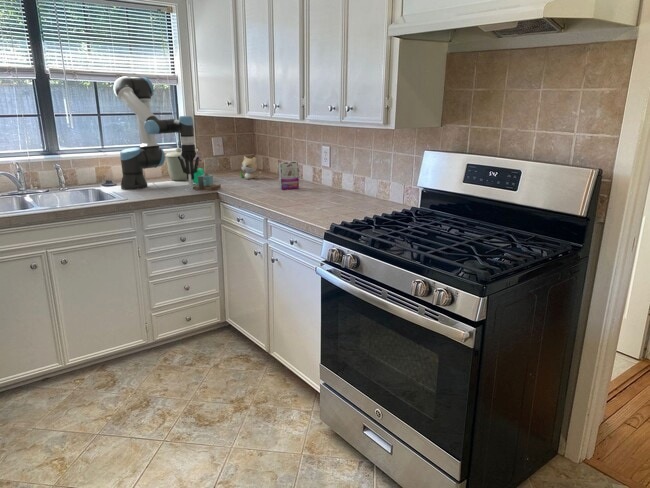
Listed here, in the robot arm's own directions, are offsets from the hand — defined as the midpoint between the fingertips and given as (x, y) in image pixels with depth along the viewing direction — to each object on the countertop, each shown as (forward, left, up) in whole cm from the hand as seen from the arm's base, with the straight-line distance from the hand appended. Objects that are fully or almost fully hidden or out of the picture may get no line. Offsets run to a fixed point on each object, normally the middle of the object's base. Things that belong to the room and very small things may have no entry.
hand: (191, 185), depth 282 cm
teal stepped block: (+6, +6, -2) cm, 8 cm away
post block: (+6, +10, -4) cm, 12 cm away
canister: (-22, +39, -4) cm, 45 cm away
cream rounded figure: (+22, +49, -4) cm, 54 cm away
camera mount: (-2, +25, -4) cm, 26 cm away
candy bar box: (+55, +17, -4) cm, 58 cm away
